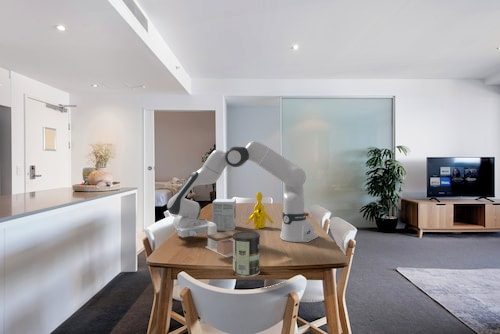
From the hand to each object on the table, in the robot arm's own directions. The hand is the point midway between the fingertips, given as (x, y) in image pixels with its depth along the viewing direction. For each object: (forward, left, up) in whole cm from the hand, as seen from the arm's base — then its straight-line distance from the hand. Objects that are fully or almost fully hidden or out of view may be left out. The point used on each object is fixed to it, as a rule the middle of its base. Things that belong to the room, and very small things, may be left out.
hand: (205, 232), depth 133 cm
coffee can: (+4, +36, -7) cm, 37 cm away
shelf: (0, +17, -7) cm, 19 cm away
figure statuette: (-46, -12, -7) cm, 48 cm away
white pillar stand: (0, +13, -7) cm, 15 cm away
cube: (0, +17, -5) cm, 18 cm away
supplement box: (-28, -24, -7) cm, 37 cm away
